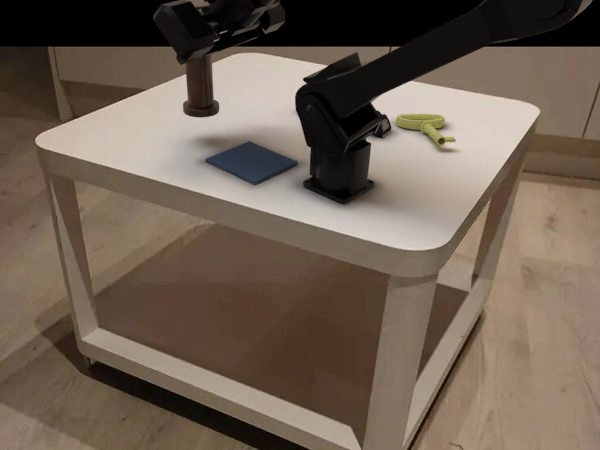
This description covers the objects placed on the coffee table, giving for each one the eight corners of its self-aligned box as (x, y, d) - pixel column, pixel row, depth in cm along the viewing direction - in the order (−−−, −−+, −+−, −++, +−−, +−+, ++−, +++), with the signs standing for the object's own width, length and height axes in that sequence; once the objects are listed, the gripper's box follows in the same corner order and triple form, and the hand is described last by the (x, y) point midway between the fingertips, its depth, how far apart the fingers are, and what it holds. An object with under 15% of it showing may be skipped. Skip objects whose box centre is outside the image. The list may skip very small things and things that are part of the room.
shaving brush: (220, 104, 85) (216, -2, 78) (217, 118, 81) (213, 7, 74) (185, 104, 85) (178, -3, 78) (181, 117, 81) (173, 6, 74)
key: (438, 154, 85) (441, 139, 84) (389, 121, 94) (391, 108, 93) (480, 146, 87) (483, 132, 86) (428, 115, 97) (430, 102, 96)
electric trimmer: (302, 108, 98) (303, 89, 96) (392, 130, 91) (394, 110, 89) (289, 115, 95) (290, 96, 93) (381, 139, 88) (383, 118, 87)
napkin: (298, 164, 81) (298, 161, 80) (254, 184, 75) (254, 182, 75) (249, 143, 85) (249, 140, 85) (205, 161, 80) (205, 158, 80)
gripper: (266, -88, 76) (202, -7, 86) (158, -77, 62) (97, 19, 73) (318, -12, 76) (248, 60, 87) (222, 16, 63) (152, 97, 74)
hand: (190, 57), depth 80 cm, fingers closed on shaving brush, 4 cm apart
